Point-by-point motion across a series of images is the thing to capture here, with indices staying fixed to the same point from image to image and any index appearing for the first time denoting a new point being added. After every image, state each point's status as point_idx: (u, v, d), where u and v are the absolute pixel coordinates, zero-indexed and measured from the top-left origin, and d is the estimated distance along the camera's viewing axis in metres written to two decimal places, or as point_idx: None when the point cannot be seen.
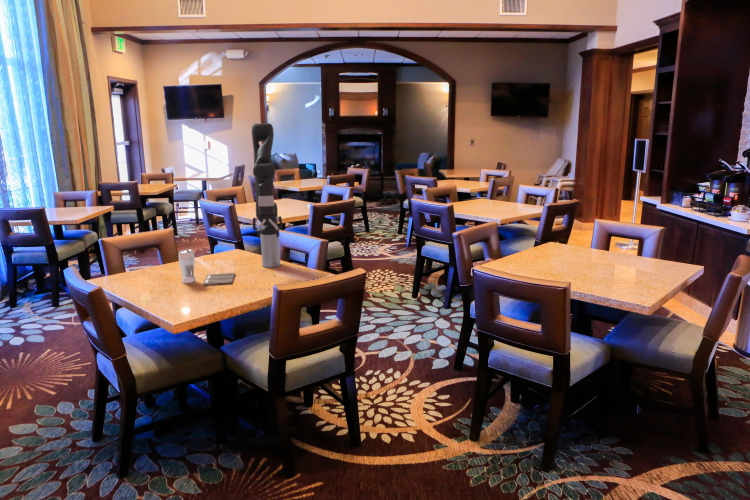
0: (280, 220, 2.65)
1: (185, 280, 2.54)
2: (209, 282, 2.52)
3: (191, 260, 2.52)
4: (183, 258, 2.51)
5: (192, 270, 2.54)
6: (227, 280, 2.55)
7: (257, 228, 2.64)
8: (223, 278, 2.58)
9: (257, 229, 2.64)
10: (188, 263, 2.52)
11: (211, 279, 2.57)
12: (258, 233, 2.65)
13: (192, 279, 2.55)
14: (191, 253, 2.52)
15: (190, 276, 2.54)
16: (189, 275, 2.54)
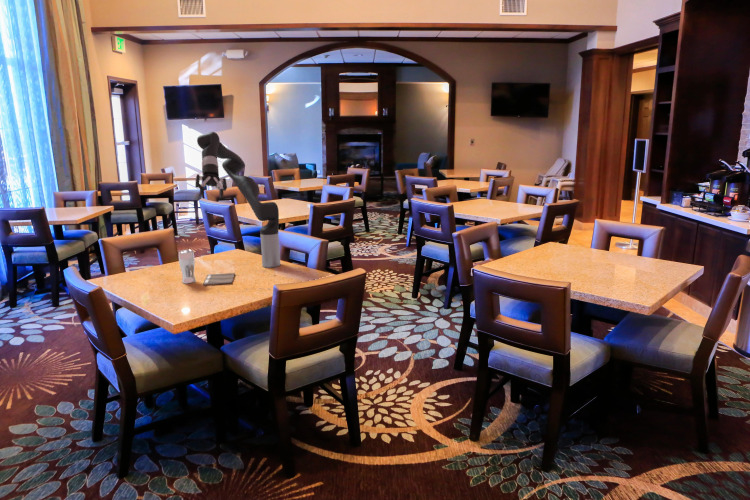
0: (224, 181, 2.61)
1: (185, 280, 2.54)
2: (209, 282, 2.52)
3: (191, 260, 2.52)
4: (183, 258, 2.51)
5: (192, 270, 2.54)
6: (227, 280, 2.55)
7: (201, 184, 2.54)
8: (223, 278, 2.58)
9: (201, 184, 2.54)
10: (188, 263, 2.52)
11: (211, 279, 2.57)
12: (202, 189, 2.53)
13: (192, 279, 2.55)
14: (191, 253, 2.52)
15: (190, 276, 2.54)
16: (189, 275, 2.54)
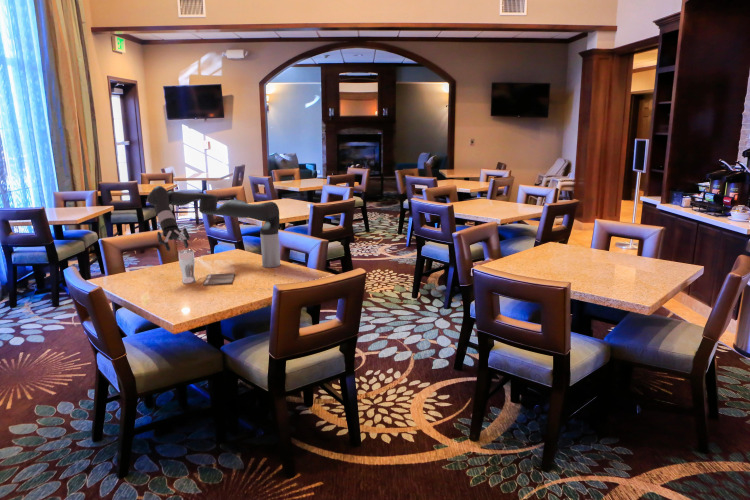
0: (185, 231, 2.65)
1: (185, 280, 2.54)
2: (209, 282, 2.52)
3: (191, 260, 2.52)
4: (183, 258, 2.51)
5: (192, 270, 2.54)
6: (227, 280, 2.55)
7: None
8: (223, 278, 2.58)
9: (165, 241, 2.57)
10: (188, 263, 2.52)
11: (211, 279, 2.57)
12: (166, 245, 2.57)
13: (192, 279, 2.55)
14: (191, 253, 2.52)
15: (190, 276, 2.54)
16: (189, 275, 2.54)
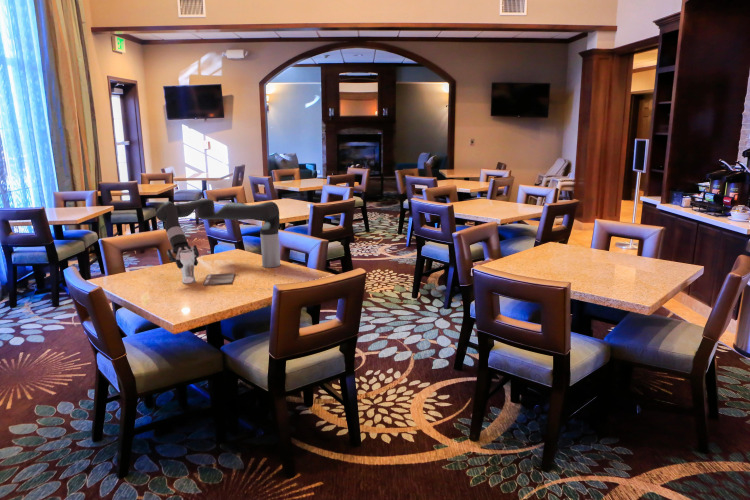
0: (195, 248, 2.60)
1: (185, 280, 2.54)
2: (209, 282, 2.52)
3: (191, 260, 2.52)
4: (183, 258, 2.51)
5: (192, 270, 2.54)
6: (227, 280, 2.55)
7: (176, 257, 2.52)
8: (223, 278, 2.58)
9: (176, 258, 2.52)
10: (188, 263, 2.52)
11: (211, 279, 2.57)
12: (178, 262, 2.52)
13: (192, 279, 2.55)
14: (191, 253, 2.52)
15: (190, 276, 2.54)
16: (189, 275, 2.54)
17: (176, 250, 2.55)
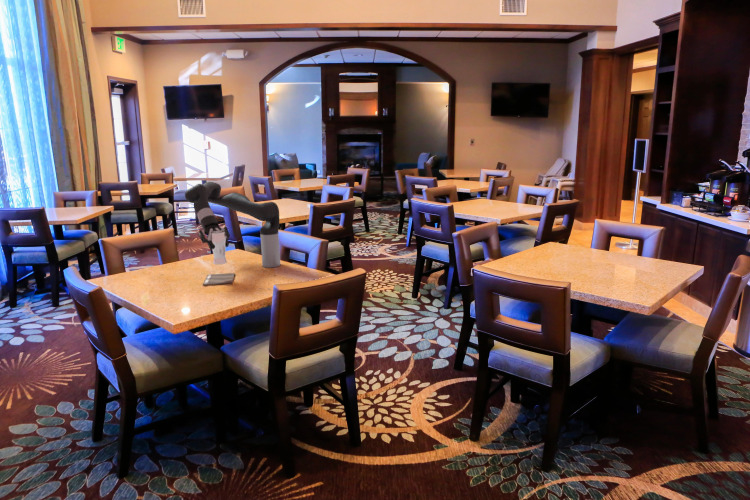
0: (226, 229, 2.60)
1: (217, 261, 2.54)
2: (209, 282, 2.52)
3: (223, 241, 2.53)
4: (215, 239, 2.51)
5: (223, 251, 2.55)
6: (227, 280, 2.55)
7: (208, 238, 2.52)
8: (223, 278, 2.58)
9: (208, 239, 2.52)
10: (220, 244, 2.52)
11: (211, 279, 2.57)
12: (210, 243, 2.52)
13: (223, 260, 2.55)
14: (223, 234, 2.53)
15: (221, 256, 2.54)
16: (221, 256, 2.54)
17: (207, 231, 2.55)
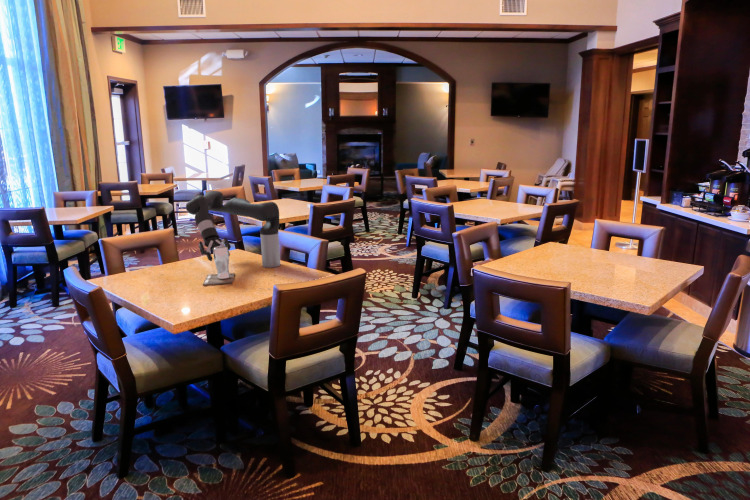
0: (226, 240, 2.64)
1: (220, 276, 2.56)
2: (209, 282, 2.52)
3: (226, 255, 2.55)
4: (218, 254, 2.53)
5: (227, 265, 2.57)
6: (227, 280, 2.55)
7: None
8: None
9: (207, 250, 2.55)
10: (223, 259, 2.54)
11: (211, 279, 2.57)
12: (209, 254, 2.55)
13: (227, 274, 2.57)
14: (225, 249, 2.55)
15: (225, 271, 2.57)
16: (224, 270, 2.56)
17: (208, 243, 2.58)
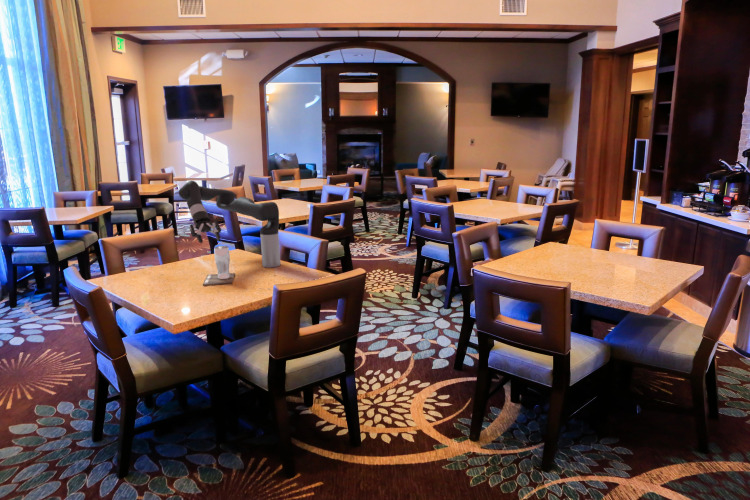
0: (217, 224, 2.70)
1: (220, 276, 2.56)
2: (209, 282, 2.52)
3: (227, 256, 2.55)
4: (219, 254, 2.53)
5: (227, 266, 2.57)
6: (227, 280, 2.55)
7: (197, 232, 2.62)
8: None
9: (197, 233, 2.61)
10: (224, 259, 2.54)
11: (211, 279, 2.57)
12: (199, 237, 2.61)
13: (227, 275, 2.58)
14: (227, 249, 2.55)
15: (225, 272, 2.57)
16: (225, 271, 2.56)
17: (198, 225, 2.64)
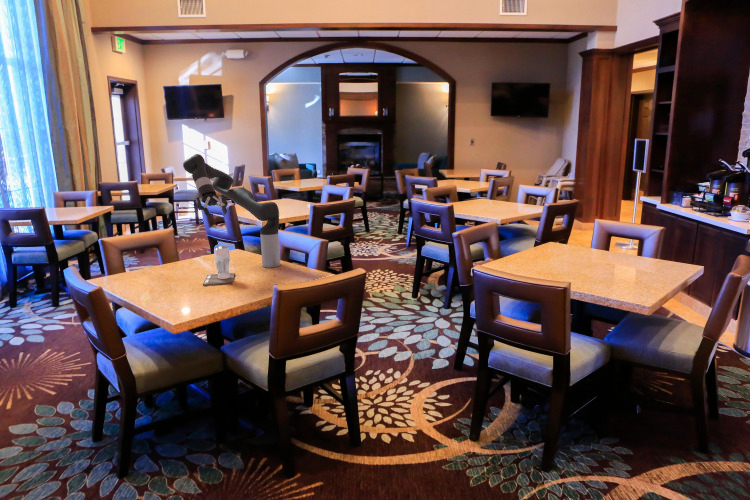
0: (223, 197, 2.65)
1: (220, 276, 2.56)
2: (209, 282, 2.52)
3: (227, 256, 2.55)
4: (219, 254, 2.53)
5: (227, 266, 2.57)
6: (227, 280, 2.55)
7: (204, 205, 2.57)
8: None
9: (204, 206, 2.57)
10: (224, 259, 2.54)
11: (211, 279, 2.57)
12: (206, 210, 2.56)
13: (227, 275, 2.58)
14: (227, 249, 2.55)
15: (225, 272, 2.57)
16: (225, 271, 2.56)
17: (205, 199, 2.60)
